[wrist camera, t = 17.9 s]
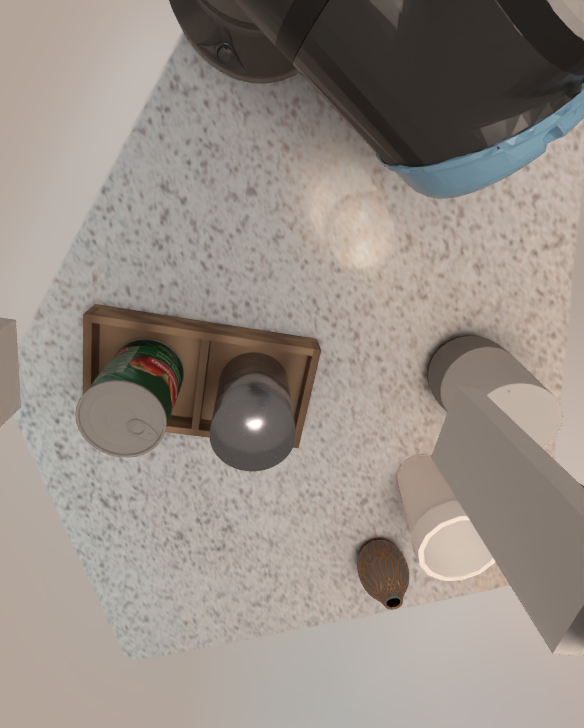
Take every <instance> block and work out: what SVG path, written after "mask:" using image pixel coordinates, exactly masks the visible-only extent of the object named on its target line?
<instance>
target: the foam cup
mask: <svg viewBox="0 0 584 728" xmlns="http://www.w3.org/2000/svg"><path fill="white" fill-rule="evenodd" d="M397 481H398V486H399V490H400V494H401V498H402V502H403V506H404V510H405V514H406V518H407V522H408V526H409V529H410V533H411V539H412V548H413V551H414V553H415V555H416V558H417V560H418V563H419V565H420V566H421V567H422V568H423V569H424V571H425V572H426V573H427V574H428V575H429V576H432V577H434V578H437V579H440V580H443V581H454V580H464V579H467V578H470V577H472V576H475V575H478V574H480V573H482V572H483V571H484V570H486V569H487V568H488V567H490V566H491V565H492V564H493V563H495V560H494V558H493V557H492V555H491V553H490V552H489V550H488V549H487V547H486V545H485V544H484V542H483V541H482V539H481V537H480V536H479V534H478V533H477V531H476V529H475V528H474V526H473V524H472V523H471V521H470V520H469V518H468V516H467V515H466V513H465V512H464V510H463V508H462V507H461V505H460V503H459V502H458V500H457V499H456V497H455V495H454V494H453V492H452V491H451V489H450V487H449V486H448V484H447V483H446V481H445V479H444V478H443V476H442V474H441V473H440V471H439V470H438V468H437V466H436V465H435V463H434V462H433V460H432V458H431V456H430V455H416V456H414V457H411V458H409V459H407V460H406V461H405V462H404V463H403V464H402V465H401V466H400V468H399V470H398V472H397Z"/></svg>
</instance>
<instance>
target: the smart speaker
mask: <svg viewBox="0 0 584 728" xmlns="http://www.w3.org/2000/svg"><path fill="white" fill-rule="evenodd" d="M428 381H429V386H430V389H431V391H432V394H433V395H434V397H435V399H436V400H437V401H438V403H439V404H440V405H441V406H442V407H443V408H444V409H445V410H446V411H447V412H448V411H449V408H450V405H451V403H452V400H453V397H454V395H455V392H456V389H457V387H458V386H462V387H469V388H476V389H480V390H481V391H483V392H484V393H485V394H486V395H487V396H488V397H489V398H490V399H491V400H492V401H493V402H494V403H495V404H496V405H497V406H498V407H499V408H500V409H501V410H503V411H504V412H505V413H506V414H507V415H508V416H509V417H510V418H511V419H512V420H513V421H514V422H515V423H516V424H517V425H518V426H519V427H520V428H521V429H523V430H524V431H525V432H526V433H527V434H528V435H529V436H530V437H531V438H532V439H533V440H534V441H535V442H536V443H537V444H538V445H539V446H540V447H542V448H543V447H544V446H546V445H547V444H549V443H550V442H551V441H552V440H553V439H554V438H555V437H556V436H557V434H558V433H559V431H560V429H561V426H562V422H563V412H562V408H561V406H560V403H559V402H558V400H557V399H556V398H555V396H554V395H553V394H552V393H551V392H550V391H549V390H548V389H547V388H545V387H544V386H543V385H542V384H541V383H540V382H539V381H538V380H537V379H536V378H535V377H534V376H533V375H532V374H531V373H530V372H529V371H528V370H527V369H526V368H525V367H524V366H523V365H522V364H520V363H519V362H518V361H517V360H516V359H515V358H514V357H513V356H512V355H511V354H510V353H509V352H507V351H506V350H505V349H504V348H502V347H501V346H500V345H498V344H497V343H495V342H493V341H491V340H489V339H486V338H482V337H477V336H464V337H459V338H456V339H453V340H451V341H449V342H448V343H446V344H445V345H443V346H442V347H441V348H440V349H439V350H438V351H437V352H436V353H435V355H434V356H433V358H432V360H431V362H430V365H429V370H428Z"/></svg>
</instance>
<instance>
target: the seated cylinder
mask: <svg viewBox="0 0 584 728" xmlns="http://www.w3.org/2000/svg"><path fill="white" fill-rule="evenodd" d="M295 439H296V429H295V423H294V416H293V409H292V403H291V396H290V389H289V383H288V377H287V373H286V371H285V369H284V368H283V366H282V365H281V364H280V363H279V362H278V361H277V360H276V359H275V358H273V357H271V356H269V355H267V354H263V353H258V352H250V353H244V354H241V355H239V356H236V357H235V358H233V359H232V360H230V361H229V362H228V363H227V364H226V366H225V367H224V368H223V370H222V372H221V375H220V380H219V385H218V390H217V395H216V401H215V406H214V411H213V416H212V422H211V427H210V442H211V446H212V448H213V450H214V452H215V453H216V455H217V456H218V457H219V458H220V459H221V460H222V461H223V462H225V463H226V464H227V465H229V466H231V467H234V468H236V469H239V470H244V471H260V470H265V469H269V468H271V467H273V466H275V465H277V464H279V463H280V462H282V461H283V460H284V459H285V458H286V457H287V456H288V455H289V453H290V452H291V450H292V448H293V446H294V443H295Z"/></svg>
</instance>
